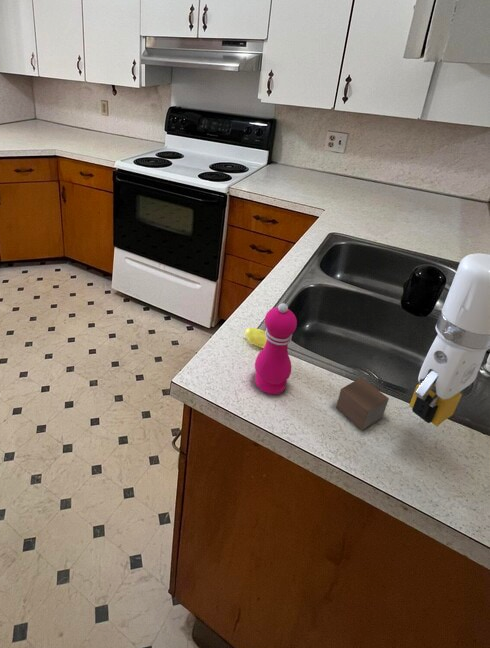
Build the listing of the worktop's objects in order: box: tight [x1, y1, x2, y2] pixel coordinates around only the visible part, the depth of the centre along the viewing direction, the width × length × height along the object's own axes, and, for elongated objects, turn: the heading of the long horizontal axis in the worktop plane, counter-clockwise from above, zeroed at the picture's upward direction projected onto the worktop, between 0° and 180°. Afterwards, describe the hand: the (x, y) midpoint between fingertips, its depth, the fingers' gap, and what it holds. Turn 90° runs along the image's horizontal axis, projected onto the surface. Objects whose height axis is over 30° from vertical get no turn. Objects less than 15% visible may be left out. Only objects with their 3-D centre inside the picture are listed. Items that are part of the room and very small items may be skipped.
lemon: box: [244, 327, 267, 349], centre depth 98 cm, size 4×8×4 cm, turn 46°
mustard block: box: [408, 383, 463, 427], centre depth 74 cm, size 5×5×5 cm
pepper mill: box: [254, 302, 298, 395], centre depth 84 cm, size 7×7×20 cm
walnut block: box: [335, 377, 390, 431], centre depth 81 cm, size 6×6×5 cm
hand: (431, 409), depth 75 cm, fingers closed on mustard block, 5 cm apart
